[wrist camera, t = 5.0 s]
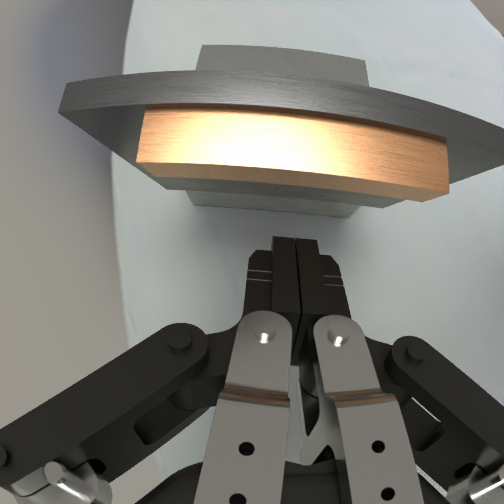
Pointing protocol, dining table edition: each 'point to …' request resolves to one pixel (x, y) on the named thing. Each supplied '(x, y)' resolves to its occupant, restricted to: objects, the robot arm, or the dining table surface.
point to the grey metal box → (280, 64)
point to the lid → (283, 135)
